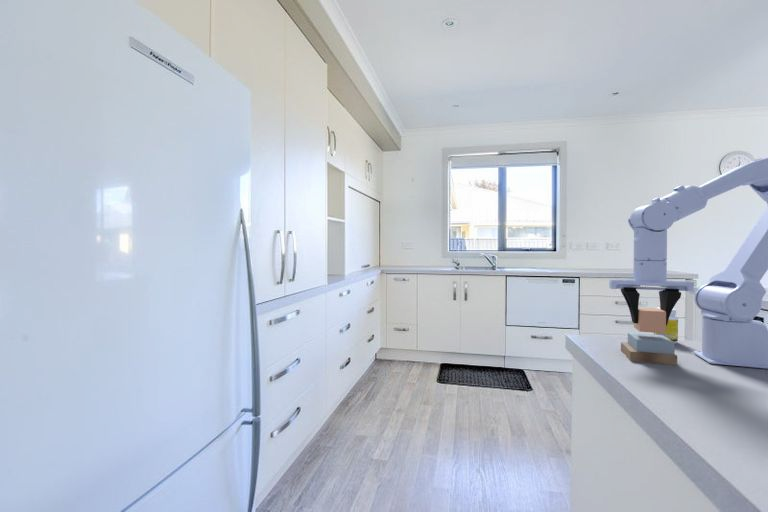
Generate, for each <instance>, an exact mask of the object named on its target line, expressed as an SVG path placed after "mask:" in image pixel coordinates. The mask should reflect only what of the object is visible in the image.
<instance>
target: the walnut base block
mask: <svg viewBox="0 0 768 512" xmlns="http://www.w3.org/2000/svg"><path fill="white" fill-rule="evenodd" d="M620 351H621V352H622V354H623V355H624V354H625V355H626V356H625V355H624V356H625V357H626V358H627V359H628V360H629V361H631V362H637V361H638V362H639V363H651V364H661V365H670V366H678V355H677V354H676V353H674V355H672V354H660V353H649V352H637V351H636V350H634V349H633V348H632V347H631V346H630V345H629V344H628V341H627V342H626V341H621V342H620Z"/></svg>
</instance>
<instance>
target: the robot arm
mask: <svg viewBox="0 0 768 512" xmlns="http://www.w3.org/2000/svg"><path fill="white" fill-rule="evenodd" d="M741 186H743V187H744V186H749V187H750V188H751V189H752V190H753V192H755V193H756V194H757V195H758V196H759V197H760V198H761V200H763V201H765V203H766V205H767V206H766V208H765V210H764V211H763V212H762V214H761V216H760V217H759V218H758V220H757V222H756V223H755V225H754V226H753V228H752V229H751V231H749V234H748V236H747V237H746V238H745V239H744V241H743V243H742V244H741V246H740V247H739V248H738V250H737V251H736V253H735V255H734V256H733V258H732V259H731V260H730V261H729V264H728V265H727V267H726V268H725V269H724V270H723V271H720V272H719V273H717V274H714V275H713V276H711V277H710V279H709V281H707V282H706V283H705V284H704V285H702V286H700V287H699V288H698V289H697V290H696V291H695V293H694V295H693V296H694V297H693V300H694V303H695V305H696V307H697V308H698V309H700V311H701V312H700V315H702V318H701V319H702V320H701V323H702V324H701V325H702V326H701V350H700V351H699V350H693V352H692V353H693V354H695V355H696V356H698V357H700V358H701V359H702V360H704V361H705V362H707V363H709V364H713V365H725V366H735V367H736V366H737V367H746V368H755V369H756V368H757V369H759V368H760V369H768V327H767V326H766V324H765V323H764V322H762V321H761V320H757V319H756V320H754V318H755V317H757V316H758V315H759V314H760V312H761V309H762V303H763V298H764V296H765V295H766V293H767V290H766V288H765V287H764V286H763V284H762V283H761V280H762V279H763V277H764V276H765V274H766V273H767V272H768V156H767V157H764V158H763V157H762V158H757V159H754V160H752V161H750V162H746V163H744V164H741V165H738V166H736V167H734V168H732V169H730V170H727V171H726V172H724V173H722V174H719V175H718V176H716V177H715V178H713V179H711V180H709V181H706V182H705V183H703V184H701V185H699V186H697V185H691V184H688V185H685V186H684V185H678V186H676V187H674V188H672V190H673V192H670V193H669V194H667V195H665V196H662V197H655V198H653V199H651V204H646V205H641V206H639V207H637V208H635V209H634V210H633V211H632V213H631V214H630V218H628V219H627V222H628V225H629V227H630V229H632V231H633V273H632V274H633V279H609V282H608V283H609V285H608V286H609V289H612V290H618V289H620V292H621V295H622V296H623V298H624V300H625V302H626V305H627V307H628V310H629V313H630V318H631V322H632V323H633V324H634V323H638V318H639V317H638V307H639V302H640V301H639V300H640V293H639V292H638V290H643V291H644V290H646V291H647V290H648V291H650V290H651V291H658V295H659V296H658V297H659V307H660V309H661V310H663V311H665V312H666V325H667V324H668V320H669V316H670V314H671V311H672V309H673V308H674V307H675V306H676V304H677V303H678V301H679V300H680V299H681V296H682V292H681V291H683V292H694V290H695V289H694V287H695V286H694V282H693V281H683V280H668V279H667V277H668V276H667V274H668V272H667V268H668V267H667V266H668V262H667V261H668V260H667V259H668V258H667V257H668V229H669V228H671V227H672V225H674V223H675V222H678V221H680V220H682V219H684V218H686V217H689V216H690V215H692V214H695V213H697V212H700V211H701V210H703V209H705V207H707V203H708V201H709V200H710V199H712V198H716V197H717V196H720V195H722V194H724V193H727V192H729V191H731V190H734V189H736V188H738V187H741Z"/></svg>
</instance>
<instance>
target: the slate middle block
mask: <svg viewBox="0 0 768 512" xmlns="http://www.w3.org/2000/svg"><path fill="white" fill-rule="evenodd" d="M627 343H628V344H629V345H630V346H631V347H632V348H633V349H634V350H636V351H637V352H649V353H660V354H672V355H674V354H676V353H675V349H676V348H675V345H676V343H675V342H673V341H671V340H670V339H668V338H666V337H665V336H663V335H654V333H653V334H652V333H641V332H637V333H636V332H627Z"/></svg>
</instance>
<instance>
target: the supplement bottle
mask: <svg viewBox="0 0 768 512" xmlns="http://www.w3.org/2000/svg"><path fill="white" fill-rule="evenodd" d="M656 308H659V309H660V306H659V307H658V306H657V307H656ZM676 315H677V309H676V308H674V307H673V309H672V311H671V314H670V316H669V320H668V324H667V325H666V333H653V334H654V335H663V336H665V337H666V338H668V339H670V340H671V341H673V342H675V344H678V342H677V341H678V339H679V337H678V336H679V334H678V333H679V318H678V317H677V316H676Z"/></svg>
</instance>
